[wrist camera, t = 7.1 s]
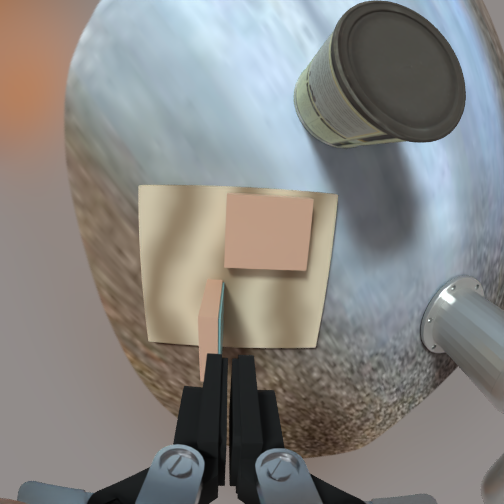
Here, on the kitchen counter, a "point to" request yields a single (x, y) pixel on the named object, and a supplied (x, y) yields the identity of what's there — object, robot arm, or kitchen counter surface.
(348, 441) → the kitchen counter surface
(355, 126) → the coffee can
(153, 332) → the board
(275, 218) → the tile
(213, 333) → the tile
